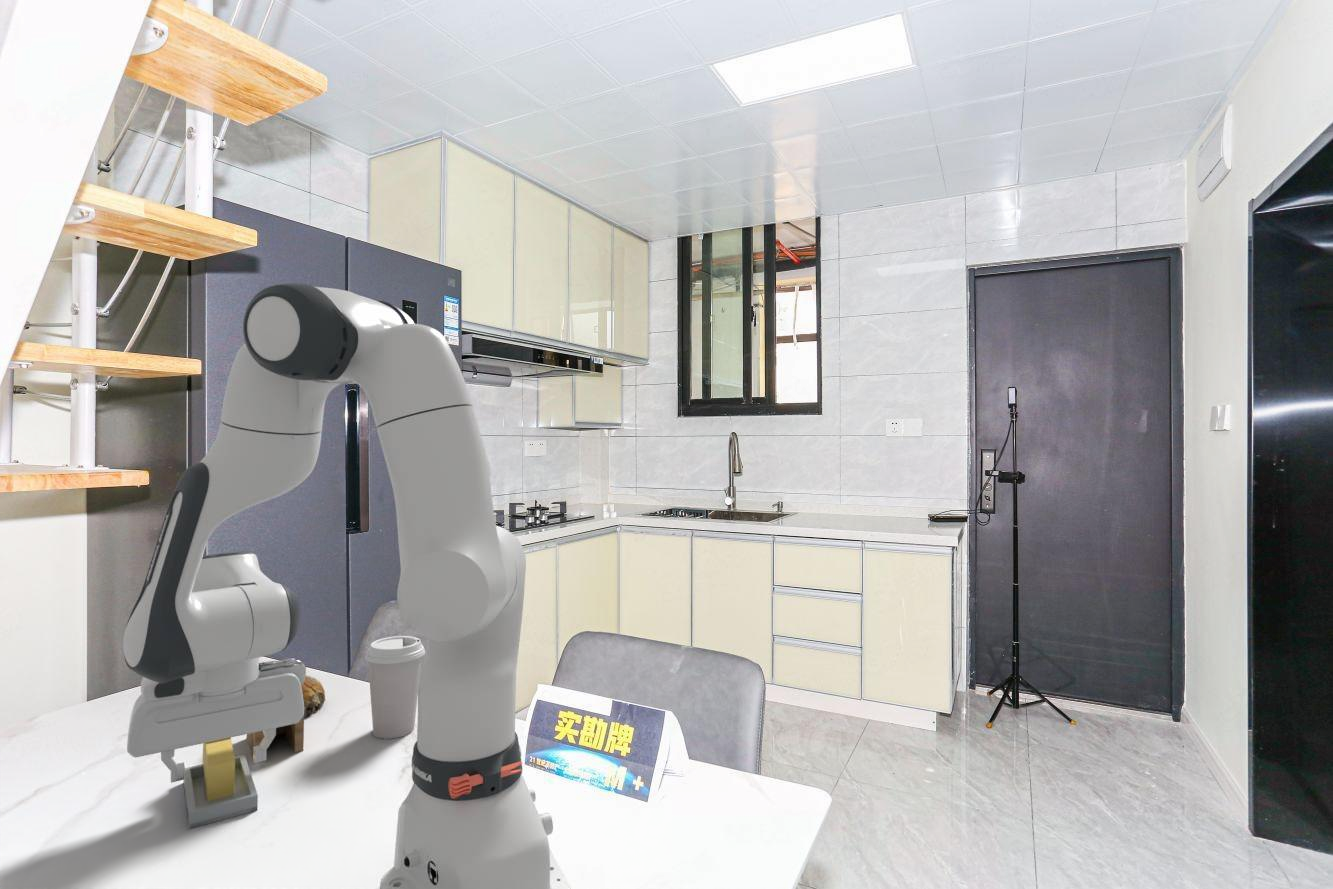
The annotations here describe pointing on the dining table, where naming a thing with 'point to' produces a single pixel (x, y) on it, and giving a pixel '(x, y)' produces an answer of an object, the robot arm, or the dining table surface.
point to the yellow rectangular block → (219, 768)
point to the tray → (222, 807)
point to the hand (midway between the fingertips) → (219, 769)
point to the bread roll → (312, 695)
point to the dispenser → (292, 731)
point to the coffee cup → (394, 684)
